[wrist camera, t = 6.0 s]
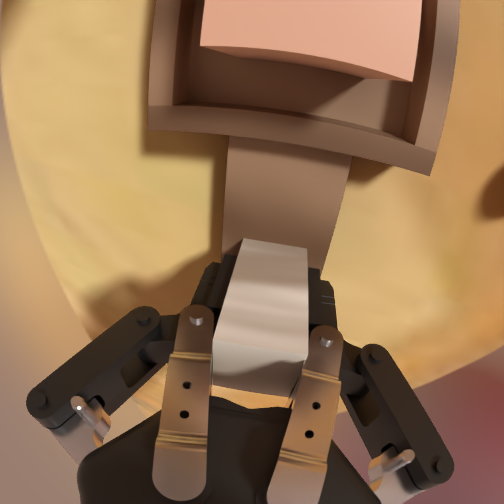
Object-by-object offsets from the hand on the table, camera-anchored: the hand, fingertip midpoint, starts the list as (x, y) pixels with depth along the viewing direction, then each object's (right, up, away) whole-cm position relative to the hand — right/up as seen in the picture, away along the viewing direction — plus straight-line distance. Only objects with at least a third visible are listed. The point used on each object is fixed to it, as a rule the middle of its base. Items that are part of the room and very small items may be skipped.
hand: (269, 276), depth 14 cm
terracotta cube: (+1, +10, -6) cm, 12 cm away
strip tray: (+1, +8, -3) cm, 8 cm away
